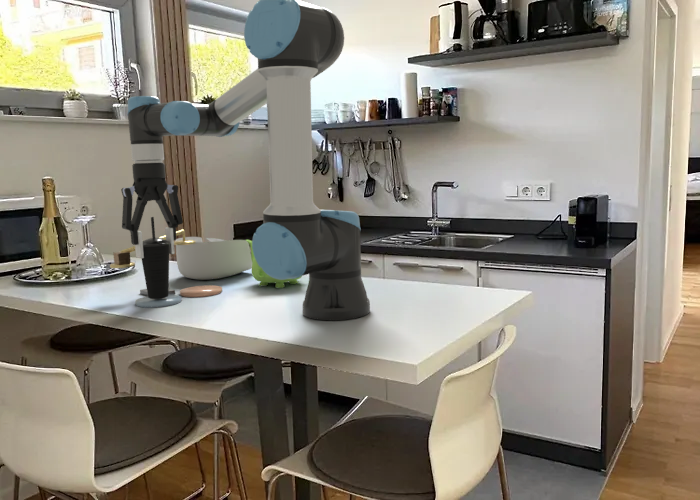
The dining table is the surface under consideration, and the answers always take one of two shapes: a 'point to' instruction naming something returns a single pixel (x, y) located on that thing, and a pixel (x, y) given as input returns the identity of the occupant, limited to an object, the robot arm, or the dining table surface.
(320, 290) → the robot arm
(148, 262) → the drinking cup
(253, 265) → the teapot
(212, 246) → the bowl
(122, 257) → the balance
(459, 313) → the dining table surface
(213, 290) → the orange disc
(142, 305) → the dish low side
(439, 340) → the dining table surface
